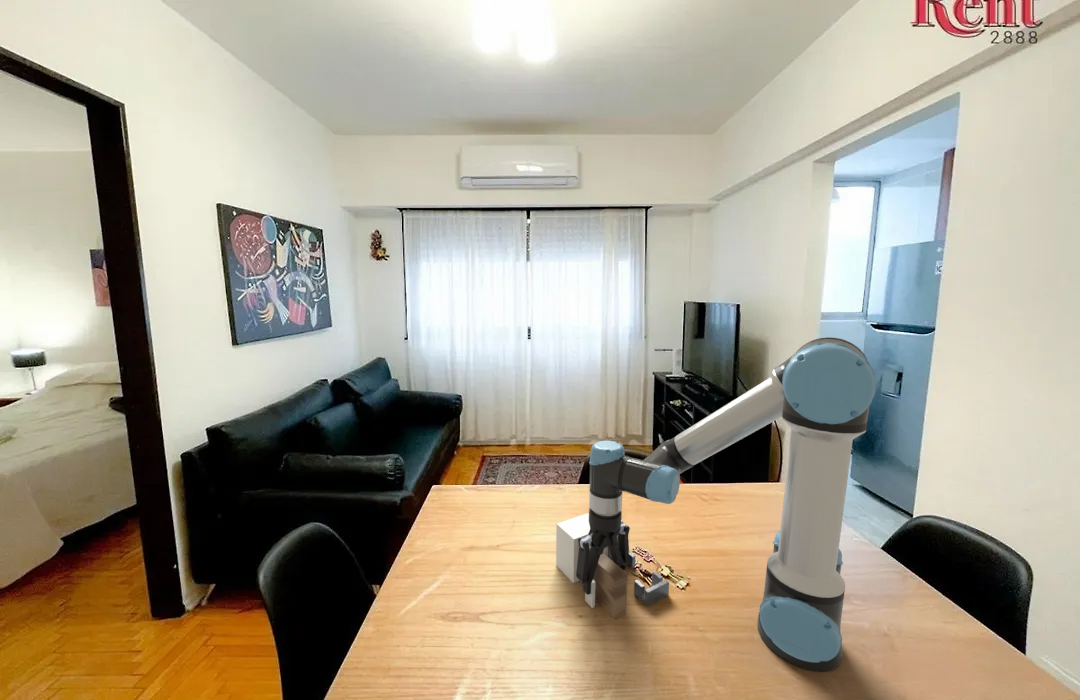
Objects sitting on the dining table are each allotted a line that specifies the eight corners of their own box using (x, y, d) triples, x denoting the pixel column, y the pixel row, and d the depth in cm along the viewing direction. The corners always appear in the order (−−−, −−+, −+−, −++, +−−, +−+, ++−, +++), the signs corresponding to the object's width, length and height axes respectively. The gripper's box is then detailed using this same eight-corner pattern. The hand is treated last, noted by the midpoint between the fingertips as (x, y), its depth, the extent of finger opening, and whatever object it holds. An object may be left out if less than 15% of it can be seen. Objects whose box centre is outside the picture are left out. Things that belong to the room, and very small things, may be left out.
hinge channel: (668, 594, 100) (670, 564, 99) (647, 606, 97) (648, 574, 96) (626, 560, 113) (627, 533, 112) (606, 569, 110) (606, 541, 108)
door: (625, 613, 95) (627, 573, 93) (614, 619, 93) (615, 578, 92) (593, 581, 105) (594, 545, 104) (582, 586, 103) (582, 549, 102)
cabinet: (622, 562, 112) (623, 521, 111) (573, 583, 104) (574, 539, 102) (602, 546, 119) (603, 507, 117) (556, 565, 111) (556, 523, 109)
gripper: (626, 490, 104) (623, 574, 107) (560, 512, 94) (559, 603, 97) (648, 504, 98) (644, 592, 101) (580, 528, 87) (578, 625, 91)
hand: (602, 597), depth 99 cm, fingers open, 7 cm apart
